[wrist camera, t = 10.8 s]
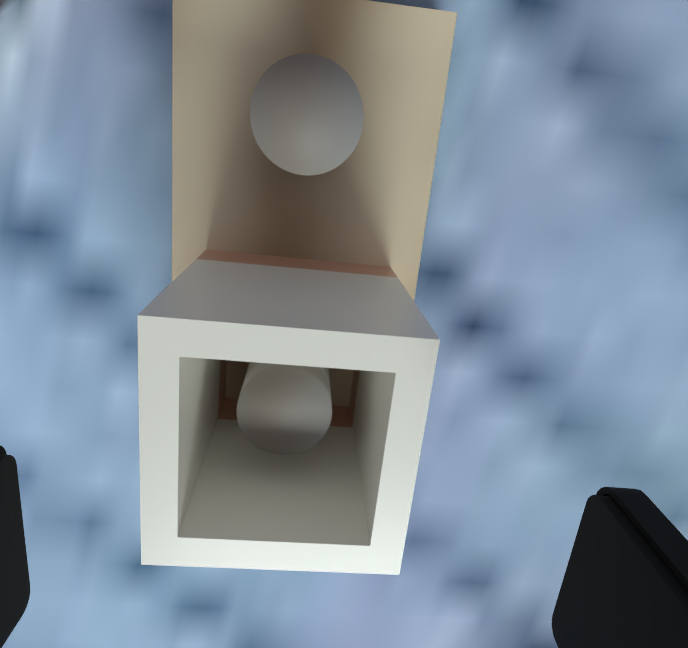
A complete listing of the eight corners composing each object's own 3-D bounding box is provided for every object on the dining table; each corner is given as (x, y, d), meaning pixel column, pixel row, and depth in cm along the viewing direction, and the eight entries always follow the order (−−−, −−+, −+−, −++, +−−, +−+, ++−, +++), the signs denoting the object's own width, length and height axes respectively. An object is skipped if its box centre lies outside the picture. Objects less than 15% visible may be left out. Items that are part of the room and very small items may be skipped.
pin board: (441, 27, 17) (524, -50, 10) (385, 414, 21) (419, 533, 15) (188, -6, 16) (105, -113, 10) (184, 401, 21) (125, 521, 14)
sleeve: (390, 266, 17) (440, 339, 11) (368, 427, 19) (399, 575, 13) (205, 249, 17) (138, 314, 10) (201, 416, 19) (141, 564, 12)
